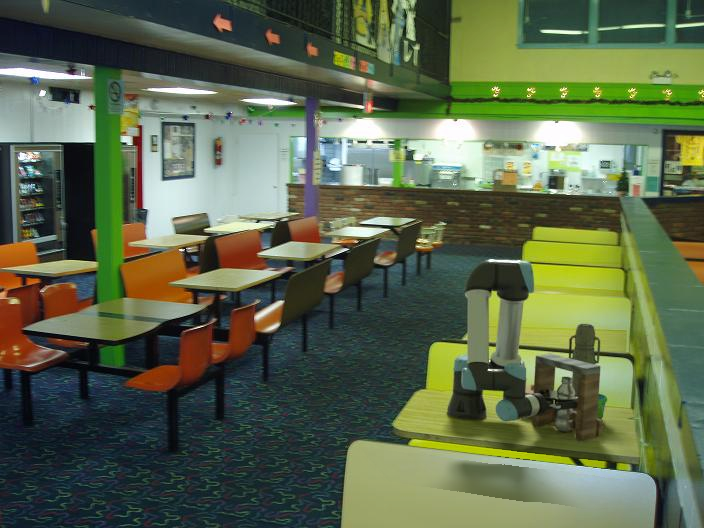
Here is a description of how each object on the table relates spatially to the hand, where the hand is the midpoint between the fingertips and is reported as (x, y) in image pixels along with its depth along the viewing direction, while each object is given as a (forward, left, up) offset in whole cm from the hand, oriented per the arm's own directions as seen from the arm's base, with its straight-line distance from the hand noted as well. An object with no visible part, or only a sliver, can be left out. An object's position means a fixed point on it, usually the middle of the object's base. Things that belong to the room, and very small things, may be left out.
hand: (572, 396), depth 299 cm
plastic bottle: (+2, -4, -13) cm, 13 cm away
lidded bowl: (-23, -4, -13) cm, 26 cm away
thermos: (-21, +17, -13) cm, 29 cm away
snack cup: (-7, +13, -13) cm, 19 cm away
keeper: (+1, -2, -13) cm, 13 cm away
